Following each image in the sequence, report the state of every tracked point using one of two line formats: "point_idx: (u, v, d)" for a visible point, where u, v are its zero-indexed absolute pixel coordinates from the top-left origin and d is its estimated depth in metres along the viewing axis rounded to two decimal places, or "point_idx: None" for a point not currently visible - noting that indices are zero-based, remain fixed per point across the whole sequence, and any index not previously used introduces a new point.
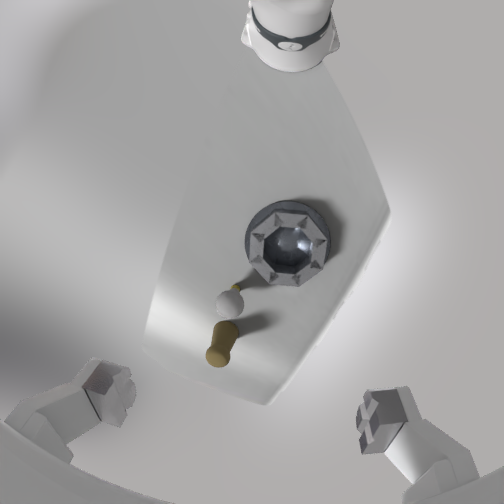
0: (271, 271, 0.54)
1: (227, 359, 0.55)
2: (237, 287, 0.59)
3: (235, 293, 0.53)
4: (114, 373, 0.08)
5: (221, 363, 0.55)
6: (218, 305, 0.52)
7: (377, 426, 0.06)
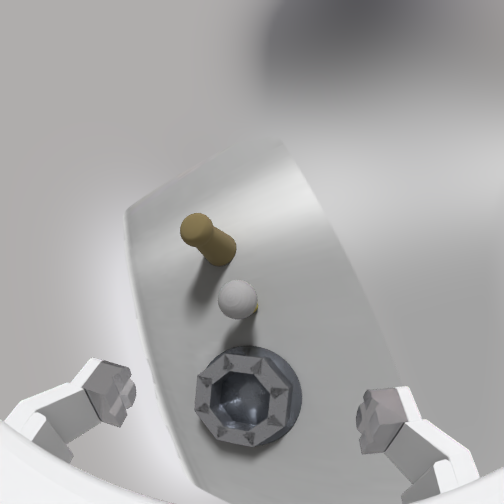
0: (234, 368, 0.39)
1: (183, 238, 0.41)
2: None
3: (243, 317, 0.38)
4: (114, 373, 0.08)
5: (184, 228, 0.41)
6: (245, 291, 0.37)
7: (377, 426, 0.06)
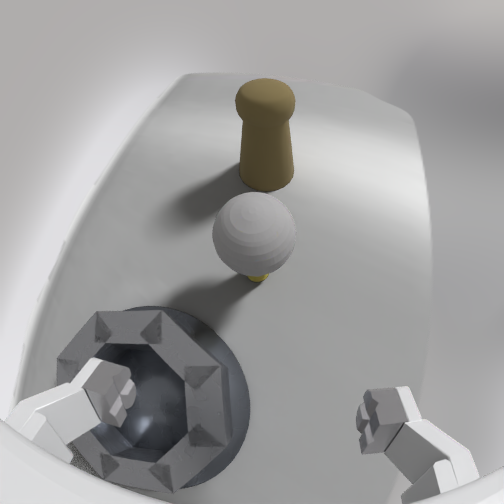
0: (159, 345, 0.18)
1: (238, 95, 0.21)
2: (251, 277, 0.24)
3: (241, 271, 0.18)
4: (114, 373, 0.08)
5: (251, 84, 0.21)
6: (284, 224, 0.17)
7: (377, 426, 0.06)
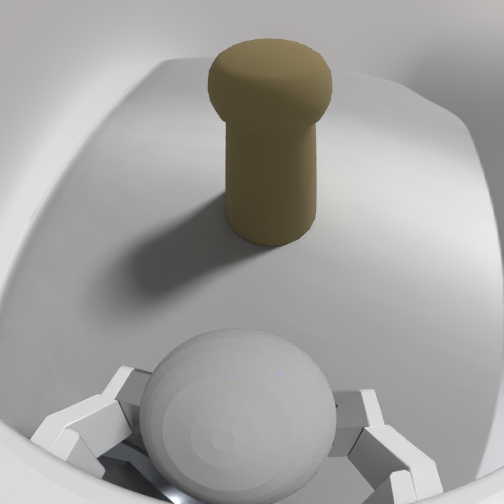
0: None
1: (212, 69, 0.09)
2: None
3: None
4: None
5: (240, 46, 0.09)
6: (315, 451, 0.05)
7: None
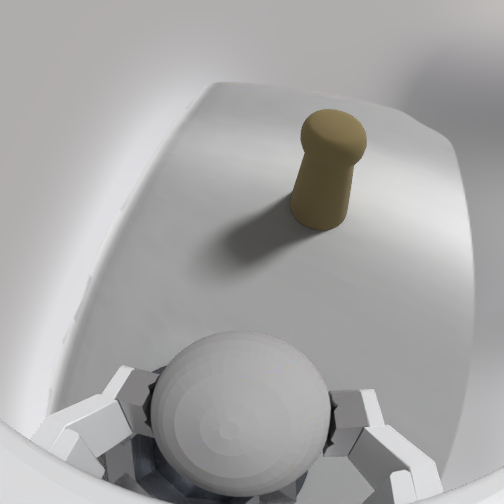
0: None
1: (307, 130, 0.19)
2: None
3: None
4: (149, 382, 0.08)
5: (321, 117, 0.19)
6: (311, 441, 0.06)
7: (334, 429, 0.06)
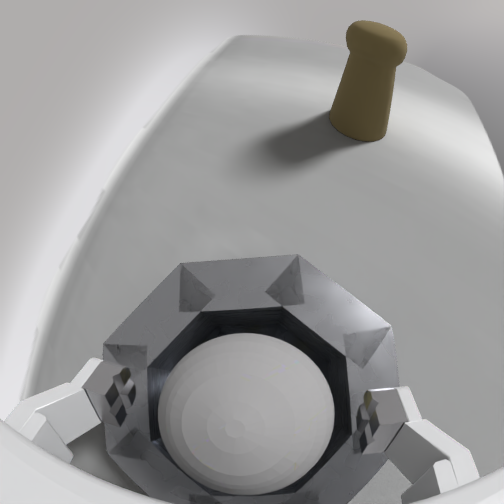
0: (300, 306, 0.13)
1: (354, 29, 0.15)
2: None
3: None
4: (114, 373, 0.08)
5: (365, 22, 0.15)
6: (315, 439, 0.06)
7: (377, 426, 0.06)
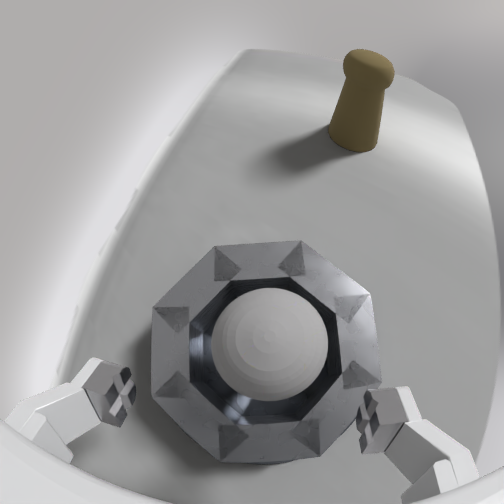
0: (302, 277, 0.18)
1: (350, 58, 0.20)
2: None
3: None
4: (114, 373, 0.08)
5: (359, 51, 0.20)
6: (316, 349, 0.11)
7: (377, 426, 0.06)
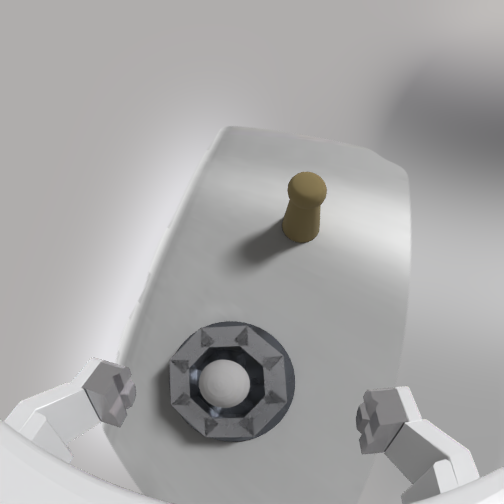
0: (246, 346, 0.33)
1: (291, 187, 0.35)
2: None
3: None
4: (114, 373, 0.08)
5: (299, 179, 0.35)
6: (240, 389, 0.26)
7: (377, 426, 0.06)
